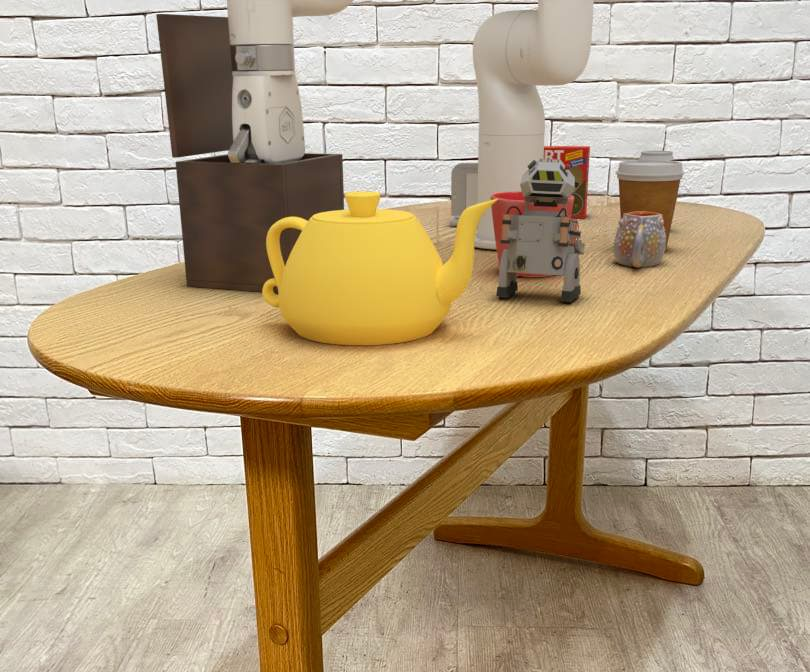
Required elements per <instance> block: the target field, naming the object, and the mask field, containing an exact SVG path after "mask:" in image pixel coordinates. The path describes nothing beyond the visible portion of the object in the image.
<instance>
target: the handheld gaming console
mask: <svg viewBox="0 0 810 672" xmlns="http://www.w3.org/2000/svg"><path fill="white" fill-rule="evenodd" d="M450 175H451V176H450V178H451V180H450V181H451V182H450V185H451V186H450V200H451V201H450V205H451V206H450V216H451V217H452V216H453V218H452V219H450V227H457V224H458V221H459V218H460V216H461V214H462V213H463V211H464V210H465V209H466V208H468V207H470V206H473V205H476V204H478V162H460V163H457V164H455V166H454V167H453V168H452V169H451V174H450Z"/></svg>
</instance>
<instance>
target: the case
mask: <svg viewBox="0 0 810 672" xmlns="http://www.w3.org/2000/svg"><path fill="white" fill-rule="evenodd" d="M343 159H344V158H343V154H342V153H316V152H315V153H313V152H305V154H304V156H303V157H302V160H300V161H294V162H288V163H282V164H267V163H266V164H264V163H231V161H230V159H229V157H228V153H225V154H219V155H213V156H205V157H198V158H192V159H185V160H178V161H175V170H176V180H177V181H176V184H177V195H178V204H179V206H178V207H179V214H180V215H179V216H180V226H181V227H180V228H181V238H182V246H183V247H182V249H183V256H184V257H183V261H184V270H185V271H184V272H185V280H186V281H185V282H186V287H191V288H193V287H194V288H204V289H205V288H206V289H218V290H231V291H244V292H258V293H262V289H263V286H264V284H265V282H266V281H268V280H269V279H272V278H275V277H274V274H273V271H272V268H271V265H270V261H269V258H268V253H267V247H266V238H267V233H268V231H269V229H270V228H271V226H272V225H273V224H275V223H276V222H277V221H279V220H281V219H283V218H286V217H299V218H302V219H305V220H307V221H309V219H310V218H311V217H312V216H313V215H315V214H318V213H322V212H328V211H336V210H345V190H344V162H343V161H344V160H343ZM301 232H302V231H301V230H299V229H296V228H286V229H284V230H282V232H281V234H280V250H281V255H282V258H283V262H284V265H285V266H286V262H287V260H288V258H289V255H290V253H291V251H292V249H293V247H294V245H295V243H296V241H297V239H298V238H299V236H300V234H301ZM273 292H274V294H278V287H277V286H274V287H273Z"/></svg>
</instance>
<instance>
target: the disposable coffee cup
mask: <svg viewBox="0 0 810 672" xmlns="http://www.w3.org/2000/svg"><path fill="white" fill-rule="evenodd" d="M615 174H616V179H618V195H619V212H620V214H619V215H620V220H621V219H622V217H623V214H624V213H629V212H635V211H647V212H654V213H659V214H662V215H663V221H664V229H665V234H666V248H665V252H666V251H667V250H668V249H667V248H668V244H669V238H670V233H671V229H672V224H673V219H674V214H675V210H676V204H677V201H678V200H677V199H678V194H679V189H680V184H681V180H682V179H683V175H685V171H684V169H683V163H682V162H681V161H677V160H675V161H667V160H638V159H637V160H635V159H634V160H623V161H620V162H619V165H618V168H617V170H616V171H615Z"/></svg>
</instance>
